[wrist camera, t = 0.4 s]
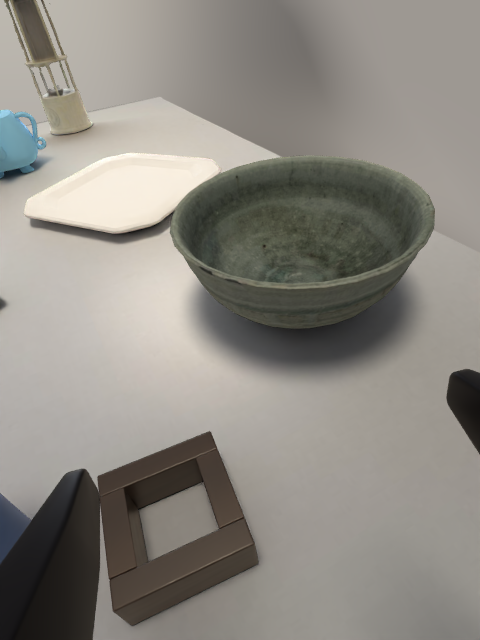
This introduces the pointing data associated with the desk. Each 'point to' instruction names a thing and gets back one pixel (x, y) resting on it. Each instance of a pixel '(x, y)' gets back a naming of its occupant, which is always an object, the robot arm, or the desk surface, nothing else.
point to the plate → (122, 192)
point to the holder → (182, 563)
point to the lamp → (58, 103)
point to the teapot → (17, 142)
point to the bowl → (302, 237)
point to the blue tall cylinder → (10, 526)
